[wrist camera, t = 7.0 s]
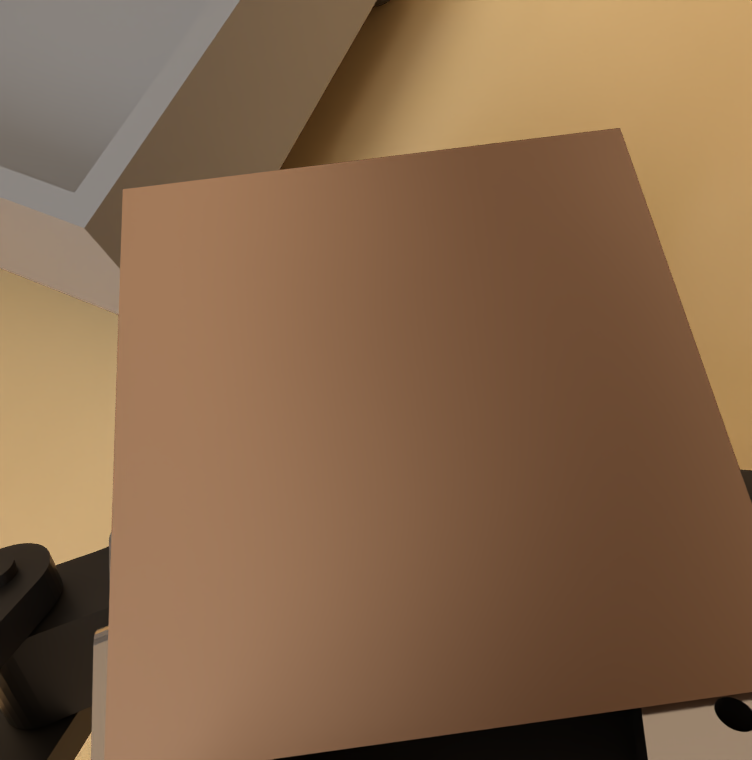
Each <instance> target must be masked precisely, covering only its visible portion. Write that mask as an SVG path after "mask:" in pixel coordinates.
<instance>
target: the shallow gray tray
mask: <svg viewBox="0 0 752 760" xmlns="http://www.w3.org/2000/svg"><path fill="white" fill-rule="evenodd" d="M388 1H389V0H0V268H1V269H3V270H6V271H9V272H11V273H14V274H16V275H19V276H21V277H24V278H26V279H29V280H31V281H34V282H36V283H39V284H42V285H44V286H47V287H49V288H52V289H54V290H57V291H59V292H62V293H64V294H67V295H70V296H72V297H75V298H77V299H80V300H82V301H85V302H87V303H90V304H92V305H95V306H98V307H100V308H103V309H105V310H108V311H110V312H113V313H115V314H118V315H119V289H120V259H121V228H122V197H123V189H130V188H138V187H146V186H154V185H162V184H170V183H178V182H186V181H194V180H202V179H211V178H219V177H227V176H235V175H243V174H251V173H259V172H267V171H275V170H280V168H281V166H282V164H283V163H284V161H285V159H286V157H287V156H288V154H289V152H290V151H291V149H292V147H293V145H294V144H295V142H296V140H297V138H298V137H299V135H300V133H301V131H302V130H303V128H304V126H305V124H306V123H307V121H308V119H309V117H310V116H311V114H312V112H313V110H314V109H315V107H316V105H317V103H318V102H319V100H320V98H321V96H322V95H323V93H324V91H325V90H326V88H327V86H328V84H329V83H330V81H331V79H332V77H333V76H334V74H335V72H336V70H337V69H338V67H339V65H340V63H341V62H342V60H343V58H344V56H345V55H346V53H347V51H348V49H349V48H350V46H351V44H352V42H353V41H354V39H355V37H356V36H357V34H358V32H359V30H360V29H361V27H362V25H363V23H364V22H365V20H366V18H367V16H368V15H369V13H370V11H371V9H372V8H373V6H379V5H383V4H385V3H387V2H388Z"/></svg>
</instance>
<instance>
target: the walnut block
mask: <svg viewBox="0 0 752 760" xmlns="http://www.w3.org/2000/svg"><path fill="white" fill-rule="evenodd" d="M748 692H752V503H751V500H750V497H749V494H748V491H747V489H746V486H745V483H744V480H743V477H742V474H741V471H740V469H739V466H738V463H737V460H736V457H735V454H734V452H733V449H732V446H731V443H730V440H729V437H728V434H727V432H726V429H725V426H724V423H723V420H722V417H721V414H720V412H719V409H718V406H717V403H716V400H715V397H714V395H713V392H712V389H711V386H710V383H709V380H708V377H707V375H706V372H705V369H704V366H703V363H702V360H701V358H700V355H699V352H698V349H697V346H696V343H695V340H694V338H693V335H692V332H691V329H690V326H689V323H688V321H687V318H686V315H685V312H684V309H683V306H682V303H681V301H680V298H679V295H678V292H677V289H676V286H675V283H674V281H673V278H672V275H671V272H670V269H669V266H668V264H667V261H666V258H665V255H664V252H663V249H662V246H661V244H660V241H659V238H658V235H657V232H656V229H655V227H654V224H653V221H652V218H651V215H650V212H649V209H648V207H647V204H646V201H645V198H644V195H643V192H642V190H641V187H640V184H639V181H638V178H637V175H636V172H635V170H634V167H633V164H632V161H631V158H630V155H629V153H628V150H627V147H626V144H625V141H624V138H623V135H622V133H621V130H620V128H616V129H608V130H600V131H591V132H583V133H575V134H567V135H559V136H551V137H543V138H535V139H527V140H518V141H510V142H502V143H494V144H486V145H478V146H470V147H462V148H454V149H446V150H437V151H429V152H421V153H413V154H405V155H397V156H389V157H381V158H373V159H365V160H356V161H348V162H340V163H332V164H324V165H316V166H308V167H300V168H292V169H283V170H275V171H267V172H259V173H251V174H243V175H235V176H227V177H219V178H211V179H202V180H194V181H186V182H178V183H170V184H162V185H154V186H146V187H138V188H130V189H123V197H122V228H121V259H120V289H119V320H118V351H117V381H116V412H115V443H114V473H113V504H112V535H111V566H110V596H109V627H108V658H107V688H106V719H105V750H104V760H270V759H277V758H285V757H292V756H299V755H306V754H313V753H320V752H327V751H335V750H342V749H349V748H356V747H363V746H370V745H377V744H384V743H392V742H399V741H406V740H413V739H420V738H427V737H434V736H441V735H449V734H456V733H463V732H470V731H477V730H484V729H491V728H498V727H506V726H513V725H520V724H527V723H534V722H541V721H548V720H556V719H563V718H570V717H577V716H584V715H591V714H598V713H605V712H613V711H620V710H627V709H634V708H641V707H648V706H655V705H662V704H670V703H677V702H684V701H691V700H698V699H705V698H712V697H720V696H727V695H734V694H741V693H748Z"/></svg>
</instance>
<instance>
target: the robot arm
mask: <svg viewBox="0 0 752 760" xmlns="http://www.w3.org/2000/svg"><path fill="white" fill-rule="evenodd" d="M740 471H741V474H742V477H743V480H744V483H745V486H746V489H747V491H748V494H749V497H750V500H751V503H752V470H740ZM111 535H112V532H111V534H110V538H109V546H108V547H106V548H104V549H101V550H99V551H96V552H93V553H90V554H88V555H85V556H82V557H79V558H76V559H73V560H70V561H67V562H64V563H61V564H58V565H55V564H54V561H53V559H52V557H51V555H50V553H49V551H48V550H47V548H45V547H44V546H42V545H39V544H32V543H24V544H17V545H12V546H8V547H5V548H2V549H0V760H74V759H75V757H76V756H77V754H78V753H79V751H80V749H81V748H82V746H83V744H84V743H85V741H86V740H87V738H88V736H89V735H90V733H91V732H92V740H91V760H104V750H105V719H106V688H107V658H108V627H109V596H110V566H111ZM270 760H752V692H748V693H741V694H734V695H727V696H720V697H712V698H705V699H698V700H691V701H684V702H677V703H670V704H662V705H655V706H648V707H641V708H634V709H627V710H620V711H613V712H605V713H598V714H591V715H584V716H577V717H570V718H563V719H556V720H548V721H541V722H534V723H527V724H520V725H513V726H506V727H498V728H491V729H484V730H477V731H470V732H463V733H456V734H449V735H441V736H434V737H427V738H420V739H413V740H406V741H399V742H392V743H384V744H377V745H370V746H363V747H356V748H349V749H342V750H335V751H327V752H320V753H313V754H306V755H299V756H292V757H285V758H277V759H270Z"/></svg>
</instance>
